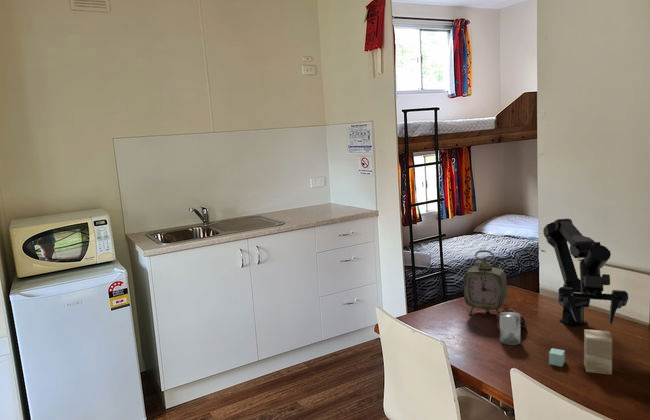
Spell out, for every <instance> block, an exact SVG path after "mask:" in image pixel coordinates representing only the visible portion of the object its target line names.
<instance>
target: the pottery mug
mask: <svg viewBox="0 0 650 420" xmlns="http://www.w3.org/2000/svg"><path fill="white" fill-rule="evenodd" d="M503 312H514V313H518V314H519V315H520V327H524V328H525V331H528V326H527V323H526V321H525V318H524V316H523V315H522V314H521V313H520V312H518V311H516V310H515V309H511V308H509V307H505V308H504V309H503V310H501V311H499V314H498V313H497V314H498V316H497V315H496V319H497V324H496V326H497V329H498V331H500V313H503Z"/></svg>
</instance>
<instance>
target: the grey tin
mask: <svg viewBox="0 0 650 420" xmlns="http://www.w3.org/2000/svg"><path fill="white" fill-rule="evenodd" d="M499 313H500V312H499ZM518 313H519V312H518ZM518 313H514V312H503V313H500V330H499V342H500V343H501V344H503V345H505V346H506V345H508V346H518V345H519V344H521V342H522V341H521V325H520V315H519V314H518Z"/></svg>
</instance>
